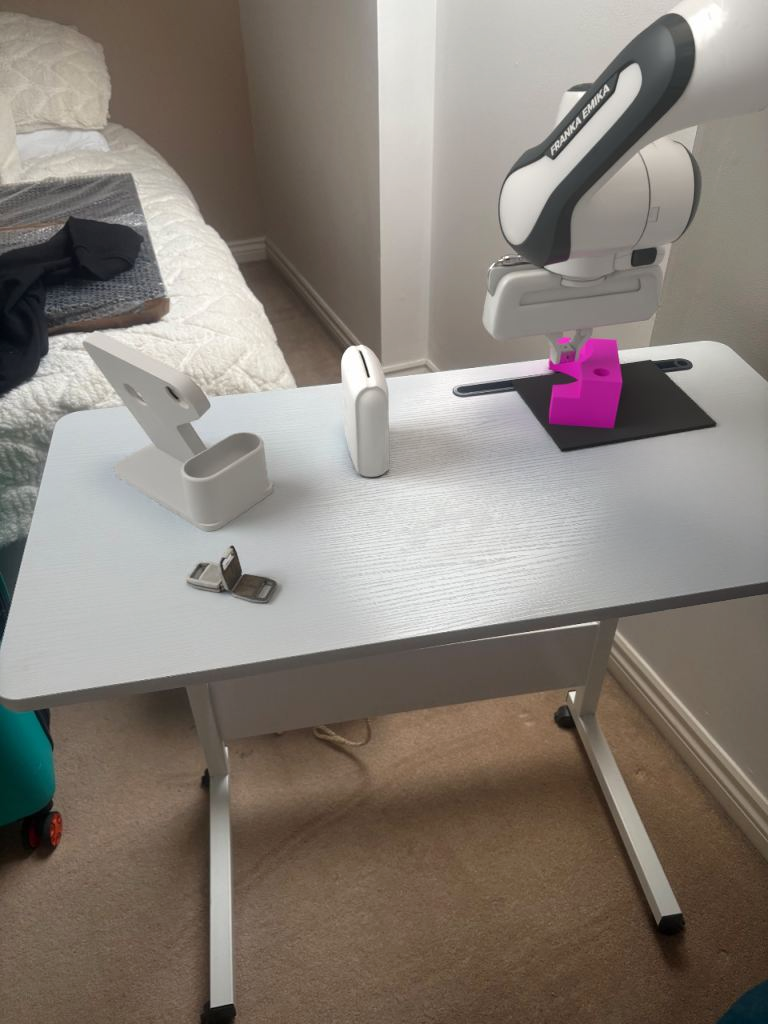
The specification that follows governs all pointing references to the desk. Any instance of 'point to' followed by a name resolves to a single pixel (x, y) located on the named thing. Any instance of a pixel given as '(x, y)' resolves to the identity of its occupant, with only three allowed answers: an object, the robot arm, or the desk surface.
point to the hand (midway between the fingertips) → (563, 360)
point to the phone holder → (180, 441)
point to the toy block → (588, 386)
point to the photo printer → (365, 410)
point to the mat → (620, 408)
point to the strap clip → (229, 578)
